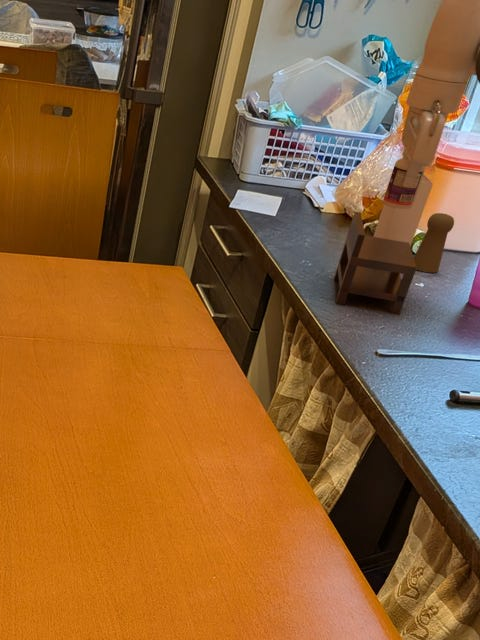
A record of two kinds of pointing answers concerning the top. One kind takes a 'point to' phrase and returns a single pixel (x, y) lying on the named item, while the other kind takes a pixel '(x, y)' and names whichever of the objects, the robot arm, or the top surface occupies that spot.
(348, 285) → the brown chair
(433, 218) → the brown pawn
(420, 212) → the milk
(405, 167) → the pill bottle
